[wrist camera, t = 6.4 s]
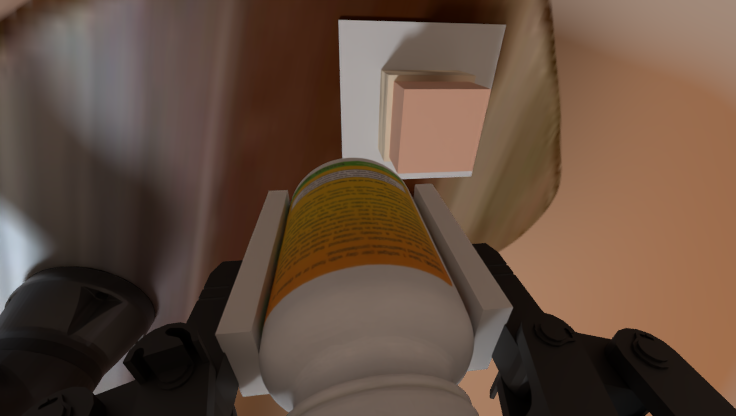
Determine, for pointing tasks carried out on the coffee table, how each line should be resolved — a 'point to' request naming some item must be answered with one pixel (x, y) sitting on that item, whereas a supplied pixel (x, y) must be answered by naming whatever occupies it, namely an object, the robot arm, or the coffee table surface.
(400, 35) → the tower mat
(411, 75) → the tower base block
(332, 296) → the supplement bottle
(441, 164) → the tower top block
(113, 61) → the coffee table surface
